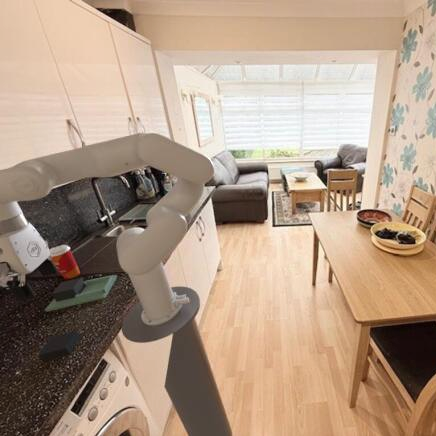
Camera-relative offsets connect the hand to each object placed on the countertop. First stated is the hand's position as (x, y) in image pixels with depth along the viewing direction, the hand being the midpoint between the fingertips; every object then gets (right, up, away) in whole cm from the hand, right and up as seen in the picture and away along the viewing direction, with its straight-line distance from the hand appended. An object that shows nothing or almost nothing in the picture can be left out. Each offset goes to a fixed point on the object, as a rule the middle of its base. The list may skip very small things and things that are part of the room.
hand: (39, 285), depth 60 cm
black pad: (-5, -23, +12) cm, 26 cm away
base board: (-19, -13, +35) cm, 42 cm away
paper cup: (-35, -9, +46) cm, 59 cm away
